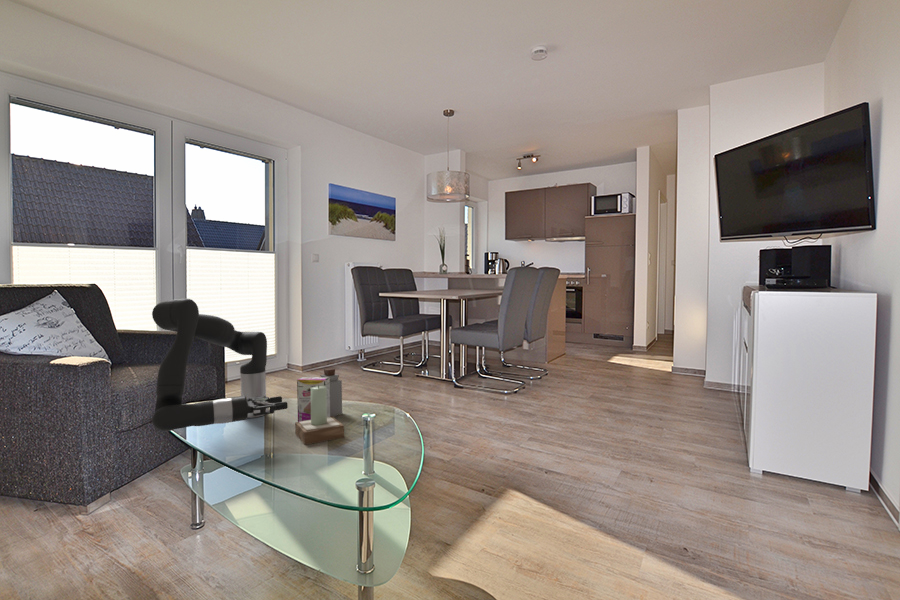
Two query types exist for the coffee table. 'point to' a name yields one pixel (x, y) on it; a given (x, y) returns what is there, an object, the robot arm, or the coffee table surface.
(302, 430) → the walnut plinth
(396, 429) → the coffee table surface
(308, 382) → the candy bar box
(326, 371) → the perfume bottle
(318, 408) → the pillar candle
